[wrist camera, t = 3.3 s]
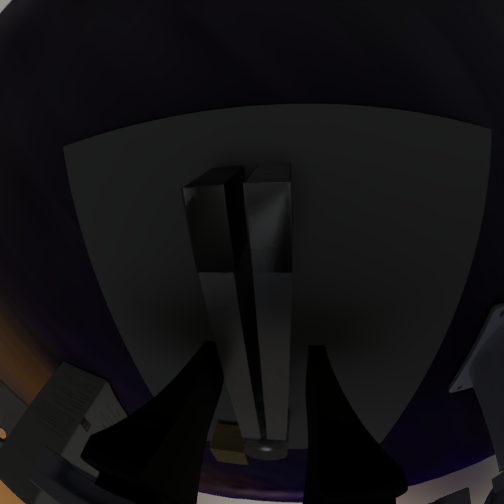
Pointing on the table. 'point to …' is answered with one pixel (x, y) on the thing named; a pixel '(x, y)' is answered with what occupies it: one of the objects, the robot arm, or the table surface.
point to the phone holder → (10, 410)
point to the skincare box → (57, 428)
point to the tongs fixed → (272, 298)
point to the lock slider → (229, 444)
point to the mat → (295, 239)
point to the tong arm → (228, 286)
